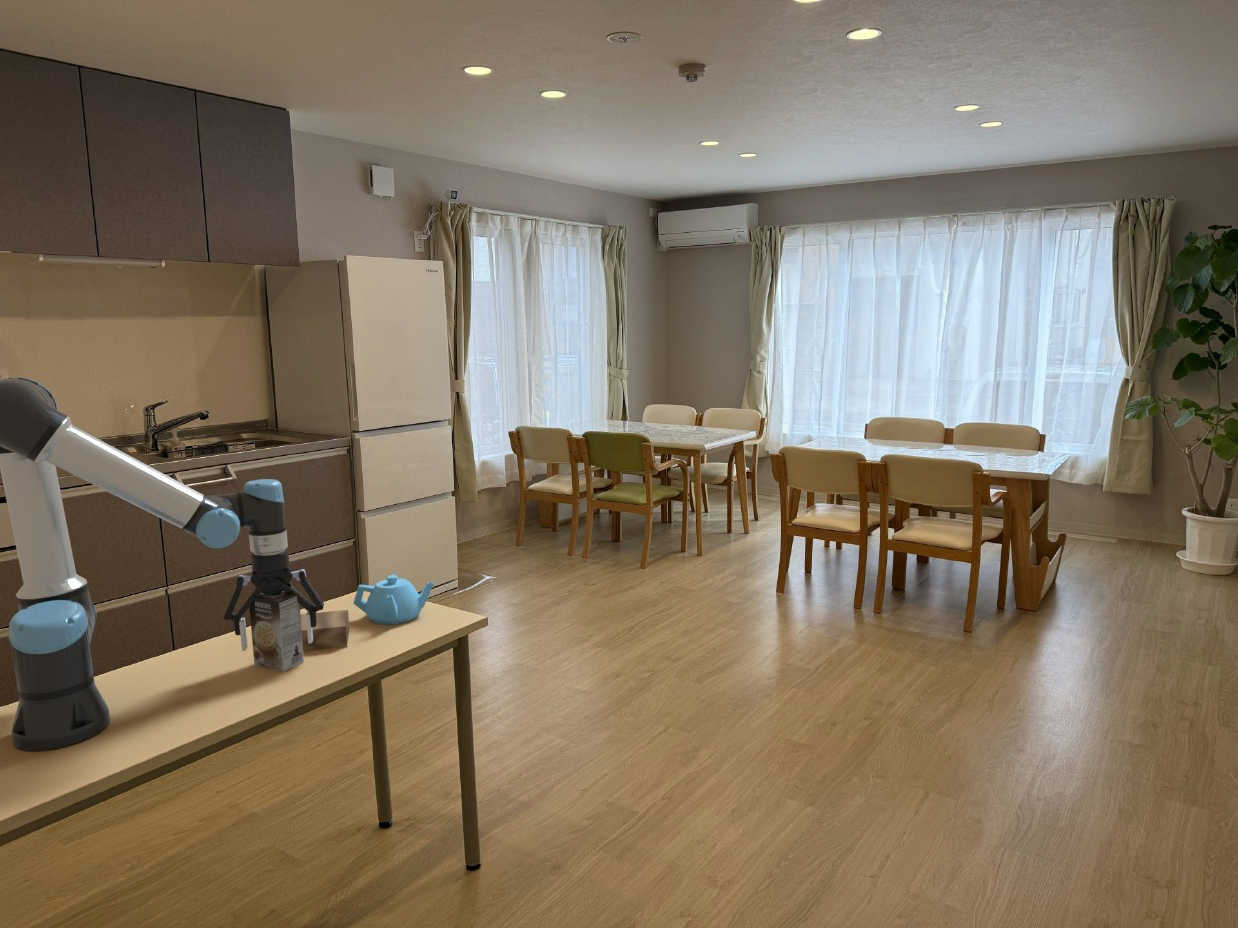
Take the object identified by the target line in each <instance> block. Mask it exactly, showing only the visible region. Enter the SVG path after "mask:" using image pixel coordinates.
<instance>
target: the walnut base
mask: <svg viewBox="0 0 1238 928" xmlns="http://www.w3.org/2000/svg"><path fill="white" fill-rule="evenodd" d="M300 616H301V630H302V643H303V653H304V652H310V651H311V652H312V651H320V650H321V651H322V650H331V649H339V648H348V642H349V636H350V635H349V634H350V620H349V619H350V618H349V610H348V609H342V610H341V609H340V610H332V611H322V612H320V611H319V612H316V619H317V624H316V627H312V633H313V641H312V643H309V644H308V634H307V622H306V613H302V614H301V613H300Z"/></svg>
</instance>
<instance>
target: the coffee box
mask: <svg viewBox="0 0 1238 928" xmlns="http://www.w3.org/2000/svg"><path fill="white" fill-rule="evenodd" d="M297 594H298V595H299V593H297ZM249 597H250V595H249V596H248V598H249ZM300 606H301V605H300V604H299V603H298V602H297V595H296V594H292V595H288V594H287V593H285V592H284V591H282V592H281V593H271V594H266V595H265V594H264V593H262V592H261V593H260V594H259V595H258V597H257V598H256V599H255V600H254V602H253V603H252V604H251V605H250V607H249V608H248V609H249V617H250V618H249V619H250V629H251V642H252V654H253V664H254V666H256V667H259V668H260V667H261V668H266V669H270V670H273V671H277V672H283V673H284V672H286V671H288V670H290V669H292V668H295V667H297V666H299V665H300V664H302V663H304V661H305V658H304V652H303V643H302V630H301V616H300V614H301V607H300Z"/></svg>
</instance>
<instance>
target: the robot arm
mask: <svg viewBox="0 0 1238 928" xmlns="http://www.w3.org/2000/svg"><path fill="white" fill-rule="evenodd" d="M58 409H59V408H58V404H57V401H56V398H55V397H54V396H53V393H52V392H51V391H50V390H49V389H48V388H47V387H46V386H44V385H43V384H41V383H40V382H37V380H36V381H35V380H33V379H30V378H25V377H13V376H11V377H8V378H0V475H1V479H2V483H3V489H4V494H5V500H6V505H7V508H8V513H9V518H10V524H11V527H12V532H13V533H12V534H13V538H14V543H15V548H16V552H17V558H18V562H19V563H18V564H19V567H20V571H21V572H20V573H21V578H22V581H23V585H22V586H21V587H20V589H18V591H17V592H16V594H15V598H16V600H17V605H18V612H17V613H15V614H14V615H13V616H12V617H11V619H10V622H9V625H8V626H9V627H8V628H9V630H8V631H9V632H8V640H9V643H10V644H11V651H12V658H13V666H14V672H15V673H14V674H15V681H16V687H17V694H18V703H17V708H16V713H15V716H14V720H13V724H12V727H11V739H12V744H13V746H14V747H15V748H17V749H18V750H19V749H20V750H23V751H34V752H35V751H37V752H38V751H46V750H52V749H59V748H64V747H67V746H71V745H74V744H77V743H80V742H83V741H86V740H87V739H91V738H92V737H94V736H96V735H99V733H101V732H103V731H104V730H105V729H107V727H108V726H109V724H110V723H111V715H110V709H109V707H108V705H107V702H106V701H105V699H104V698H103V696H102V694H101V693H100V691H99V689H98V687H97V685H96V683H95V677H94V667H93V662H92V652H91V642H92V637H93V633H94V629H95V627H96V624H97V623H96V621H97V610H96V606H95V605H94V602H93V600H92V599H91V596H90V595H91V594H90V589H89V585H88V581H87V578H85V577H82V576H80V575H79V574H78V573H77V571H76V566H75V560H74V556H73V550H72V545H71V539H70V533H69V529H68V524H67V520H66V513H65V509H64V503H63V502H64V501H63V498H62V492H61V488H60V483H59V478H58V472H57V471H58V470H57V468H59V469H61V470H63V471H66V472H67V473H70V474H71V475H74V476H76V477H77V478H79V479H81V480H83V481H86V482H88V483H89V484H91V485H93V486H96V487H98V488H99V489H102V490H103V491H106V492H107V493H109V494H112V495H113V496H115V497H117V498H120V499H122V500H123V501H126V502H128V503H130V504H131V505H133V506H135V507H138V508H140V509H141V510H144V511H145V512H147V513H149V514H152V515H154V516H155V517H158V518H159V519H161V520H163V521H165V522H168V523H169V524H171V525H173V526H175V527H178V528H180V529H181V530H183V531H185V532H186V533H187V534H190V535H192V536H194V537H196V538H197V539H198V540H200V542H201V543H202V544H204V545H205V546H207V547H209V548H213V549H223V548H226V547H229V546H230V545H232V544H233V543H234V542H235V541H236V540H237V539H238V537H239V534H240V530H241V529H242V528H244V529H245V528H248V541H249V550H250V552H251V554H250V562H251V563H250V564H251V573H252V574H251V575H245V574H243V573H240V574H239V575H238V576H237V578H236V587H235V589H234V592H233V595H232V597H231V599H230V602H229V603H228V606H227V608H226V611H225V614H224V616H223V619H224V620H225V621H232V622H233V627H234V634H235V636H240V644H241V651H242V652H243V651H247V649H248V646H249V645H248V643H249V642H248V635H247V625H246V624H247V623H246V617H243V615H244V614H245V613H246V612H247V611H248V609H249V607H250V605H251V604H252V603H253V602H254V600H255V599H256V598H257V597H258V595H259V594H260V593H261V592H262V593H264V594H265V595H266V594H271V593H281V592H282V591H284V592H285V593H287V594H288V595H292V594H296V595H297V602H298V603H299V604H300V606H301V607H302V608H303V609H305V610H306V613H305V614H306V622H307V634H308V644H309V643H312V641H313V633H312V627H316V624H317V619H316V613H318V612H320V611H322V610H323V609H324V606H325V603H324V601H323V600H322V599H321V597H320V595H319V594H318V592H317V591H316V589H315V588H314V586H313V584H312V583H311V582H310V580H309V578H308V575H307V572H306V569H305V568H300V569H299V570H295V571H292V570H291V567H290V557H289V556H290V555H289V550H287V548H288V547H289V544H288V532H287V531H288V530H287V524H286V511H285V510H286V509H285V508H286V507H285V499H284V493H283V485H282V483H281V482H280V481H279V480H278V479H272V478H262V479H261V478H260V479H256V480H249V481H247V482H245V484H244V485H243V488H244V489H243V490H242V491H239V492H233V493H222V494H220V493H219V494H210V495H204V494H203V493H200V492H198V491H197V490H195V489H193V488H191V487H189V486H187V485H186V484H183V483H182V482H180V481H178V480H176V479H174V478H172V477H170V476H169V475H168V474H164V473H163V472H161V471H159V470H157V469H155V468H154V467H152V466H150V465H148V464H146V463H145V462H142V461H140V460H138V459H137V458H135V457H133V456H131V455H130V454H127V453H125V452H124V451H121V450H120V449H118V448H116V447H114V446H112V445H110V444H108V443H106V442H105V441H103V440H101V439H98V438H97V437H95V436H93V435H92V434H89V433H87V432H86V431H84V430H82V429H80V428H78V427H76V426H75V425H73V423H72V421H71V418H70V416H68V415H66V414H64V413H63V412H61V411H59V410H58ZM293 578H294V579H295V580H296V581H298V582H300V584H301V586H302V587H303V590H305V592H306V593H307V595H308V596H309V599H311V601H312V602H311V601H310V600H309V599H308V598H306V597H305V596H304V595H303V594H302V593H301V592H300V591H298V590H297V588H296V587H295V586H294V585H293V584H292V583H291V581H292V579H293ZM249 582H250V583H252V584H253V585H254V586H255V588H254V590H253V591H252V592H251V594H249V596H250V597H249V596H248V597H247V599H246V600H245V601H244V603H243V604H242V606H240V608H239V609H238V610H237V611H236V612H234V610H235V608H236V606H237V603H238V601H239V598H240V597H241V593H242V592H243V590H244V587H245V586H246V587H247V586H248V583H249ZM297 593H299V595H298V594H297Z"/></svg>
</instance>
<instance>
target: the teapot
mask: <svg viewBox="0 0 1238 928" xmlns="http://www.w3.org/2000/svg"><path fill="white" fill-rule="evenodd" d="M433 587H434V581H427V583H426V585H425V586H424V587H423V589H422V591H421V592H420V594H419V593H418V591H417V590H416V588H415V587H414V585H413V584H412V583H411V582H410V581H409V580H408V579H405V578H399V577H398V575H397V574H396V573H394V574H393V573H392V574H391V575H388V576H386V578H385V579H383V580H381V581H378V582H376V583H375V585H366V584H359V585H358V586H357V590H356V594H355V596H354V600H353V603H352V604H353V605H355V606H356V607H357V608H358V609H360V610H361V611H362V612H364V613H365V615H366V617H367V618H368V619H369V620H370V621H371V622H372V623H374V624H377V625H386V626H387V625H388V626H389V625H399V624H404V623H408V622H411V621H413V620H415V619H416V618H417V617H418V616H419V614H420V613H421V612H422V609H424V607H425V606H426V603H427V600H428V598H429V596H430V594H431V591H432V589H433ZM365 592H367V593H369V595H368V597H367V600H365V599H363V597H364V593H365Z"/></svg>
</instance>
